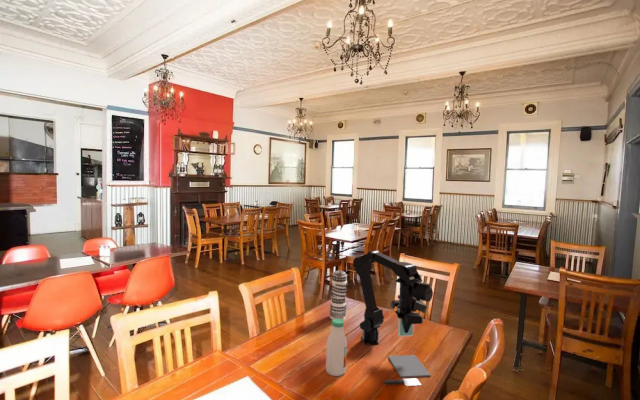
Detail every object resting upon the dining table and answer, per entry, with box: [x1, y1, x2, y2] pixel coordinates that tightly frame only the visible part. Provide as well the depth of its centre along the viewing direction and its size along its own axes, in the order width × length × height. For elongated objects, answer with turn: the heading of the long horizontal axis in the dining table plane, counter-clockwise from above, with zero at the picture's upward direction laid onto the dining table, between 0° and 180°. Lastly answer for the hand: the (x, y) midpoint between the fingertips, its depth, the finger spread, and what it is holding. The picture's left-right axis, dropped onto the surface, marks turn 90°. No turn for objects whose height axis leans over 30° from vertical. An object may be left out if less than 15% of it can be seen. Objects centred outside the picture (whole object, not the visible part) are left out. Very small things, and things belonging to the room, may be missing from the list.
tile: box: [396, 317, 414, 338], centre depth 136 cm, size 6×2×7 cm, turn 99°
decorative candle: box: [329, 270, 349, 321], centre depth 174 cm, size 9×9×25 cm
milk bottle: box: [325, 319, 348, 377], centre depth 126 cm, size 8×8×20 cm
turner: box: [384, 377, 422, 387], centre depth 120 cm, size 13×4×1 cm, turn 98°
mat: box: [387, 354, 431, 379], centre depth 131 cm, size 12×14×1 cm
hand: (405, 331), depth 136 cm, fingers closed on tile, 2 cm apart
